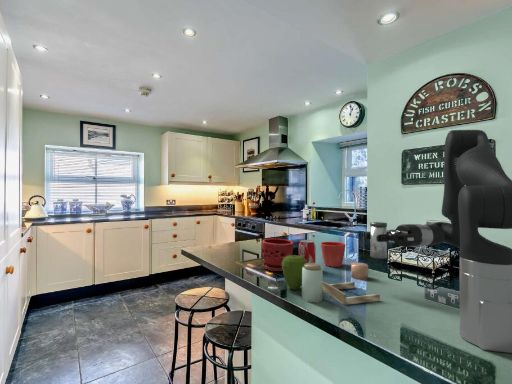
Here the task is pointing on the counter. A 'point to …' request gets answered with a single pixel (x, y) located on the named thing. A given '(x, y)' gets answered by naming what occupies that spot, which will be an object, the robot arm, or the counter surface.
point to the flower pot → (333, 253)
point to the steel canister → (377, 247)
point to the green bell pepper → (293, 270)
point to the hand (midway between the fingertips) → (371, 236)
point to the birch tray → (341, 297)
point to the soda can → (307, 250)
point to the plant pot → (275, 253)
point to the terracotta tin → (359, 271)
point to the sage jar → (312, 282)
